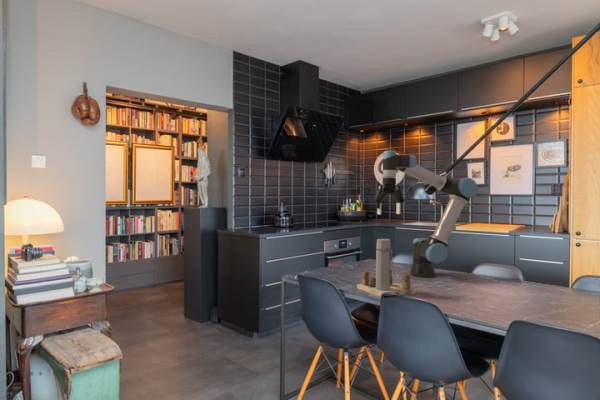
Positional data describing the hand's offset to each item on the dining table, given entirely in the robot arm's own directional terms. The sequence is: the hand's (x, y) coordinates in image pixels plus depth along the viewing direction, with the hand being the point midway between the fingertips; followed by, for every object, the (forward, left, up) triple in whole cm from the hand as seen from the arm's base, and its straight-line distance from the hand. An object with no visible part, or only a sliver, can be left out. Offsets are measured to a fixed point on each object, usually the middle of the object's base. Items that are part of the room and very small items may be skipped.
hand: (388, 214), depth 226 cm
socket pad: (+21, +24, -37) cm, 48 cm away
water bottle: (+21, +24, -37) cm, 48 cm away
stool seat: (+16, +18, -39) cm, 46 cm away
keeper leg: (+18, +16, -36) cm, 44 cm away
